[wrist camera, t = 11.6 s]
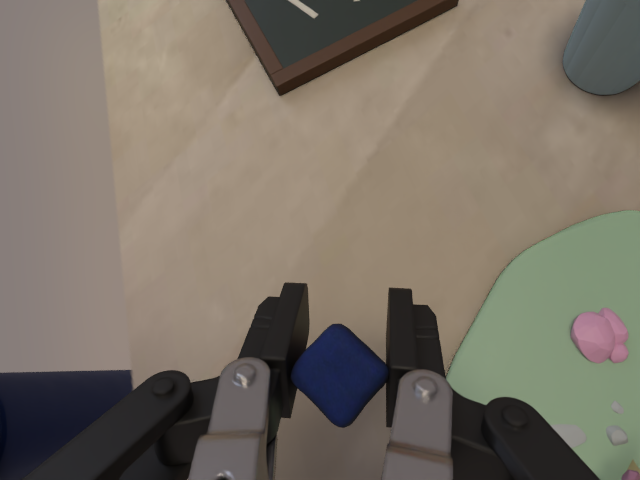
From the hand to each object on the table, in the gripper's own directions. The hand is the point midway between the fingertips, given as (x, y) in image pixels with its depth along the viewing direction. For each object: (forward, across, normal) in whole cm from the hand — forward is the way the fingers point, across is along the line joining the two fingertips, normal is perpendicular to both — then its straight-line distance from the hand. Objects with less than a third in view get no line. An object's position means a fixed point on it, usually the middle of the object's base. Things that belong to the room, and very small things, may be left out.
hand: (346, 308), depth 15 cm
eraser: (+2, 0, +4) cm, 5 cm away
